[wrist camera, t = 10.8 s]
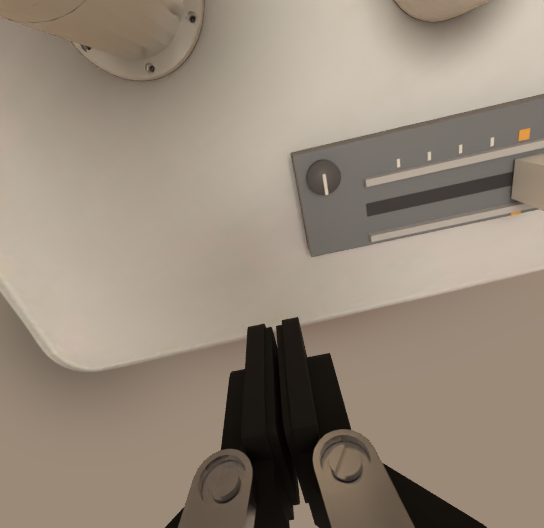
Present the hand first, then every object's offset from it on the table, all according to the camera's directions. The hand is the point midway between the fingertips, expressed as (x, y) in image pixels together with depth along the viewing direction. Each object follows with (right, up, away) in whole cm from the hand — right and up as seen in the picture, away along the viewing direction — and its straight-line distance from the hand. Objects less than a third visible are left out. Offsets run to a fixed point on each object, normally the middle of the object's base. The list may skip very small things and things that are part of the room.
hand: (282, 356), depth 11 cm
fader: (+25, +12, +22) cm, 35 cm away
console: (+18, +13, +24) cm, 33 cm away
